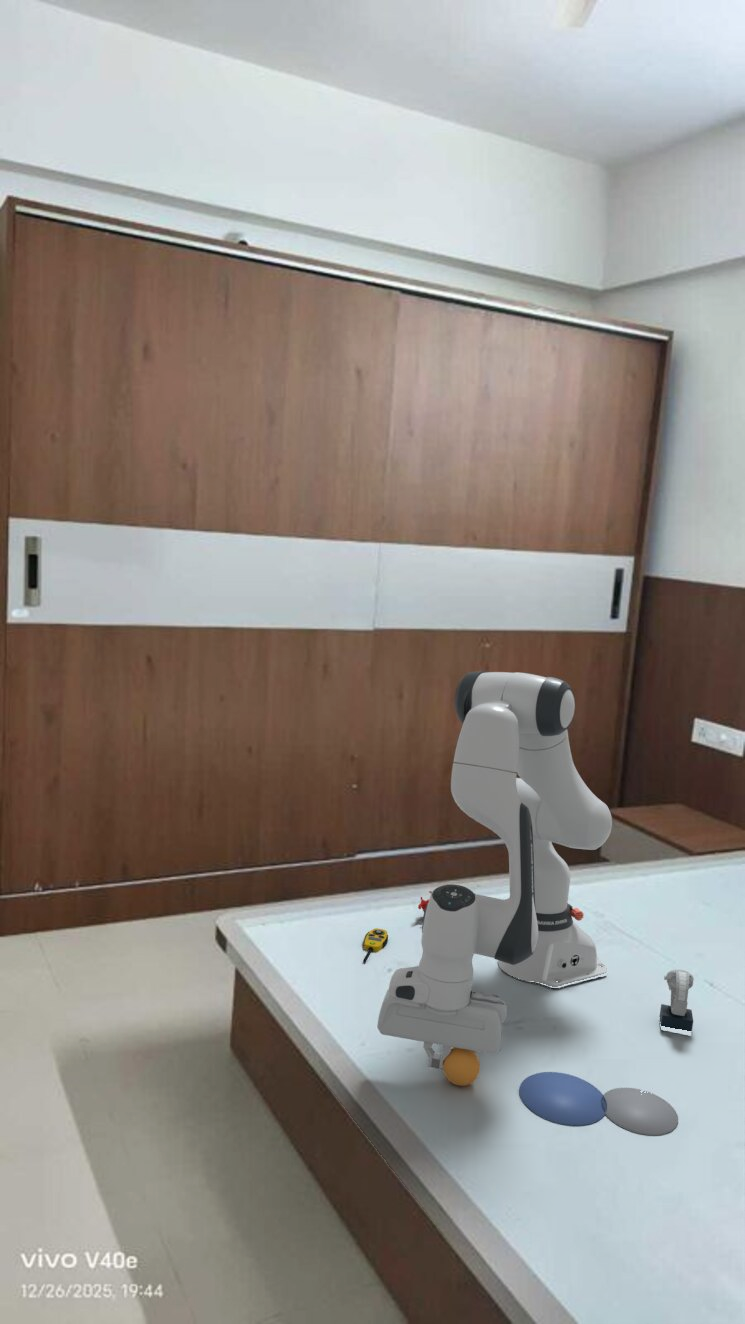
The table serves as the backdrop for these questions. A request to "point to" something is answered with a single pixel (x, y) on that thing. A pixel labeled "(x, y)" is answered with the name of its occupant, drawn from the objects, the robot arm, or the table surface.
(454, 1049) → the ball
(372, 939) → the remote control
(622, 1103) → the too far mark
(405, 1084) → the table surface
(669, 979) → the grey black upright piece
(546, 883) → the robot arm
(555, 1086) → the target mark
